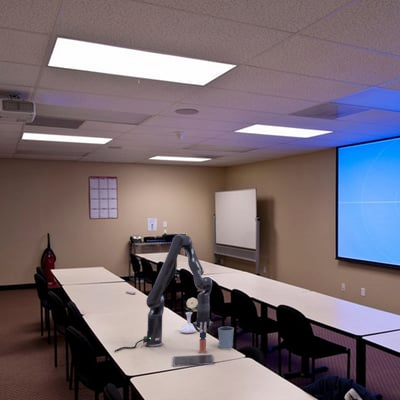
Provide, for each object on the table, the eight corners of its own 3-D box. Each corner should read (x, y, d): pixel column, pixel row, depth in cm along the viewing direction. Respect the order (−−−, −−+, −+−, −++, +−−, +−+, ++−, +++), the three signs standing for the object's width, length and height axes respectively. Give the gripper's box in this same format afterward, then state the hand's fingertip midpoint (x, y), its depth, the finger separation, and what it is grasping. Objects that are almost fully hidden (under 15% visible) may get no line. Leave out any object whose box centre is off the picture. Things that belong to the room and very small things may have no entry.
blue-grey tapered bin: (221, 350, 263) (221, 331, 263) (215, 346, 272) (215, 327, 272) (236, 348, 268) (236, 329, 268) (230, 343, 276) (230, 325, 277)
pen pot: (199, 353, 257) (199, 340, 257) (199, 351, 260) (199, 338, 261) (205, 353, 257) (206, 340, 258) (205, 351, 261) (205, 338, 261)
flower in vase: (177, 333, 299) (177, 297, 300) (186, 329, 310) (186, 295, 310) (193, 335, 294) (193, 299, 295) (201, 331, 305) (202, 296, 305)
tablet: (173, 366, 235) (173, 364, 235) (174, 357, 249) (174, 356, 249) (213, 364, 239) (213, 362, 239) (211, 355, 253) (211, 354, 253)
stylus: (201, 351, 258) (202, 330, 259) (201, 351, 259) (202, 329, 260) (203, 351, 258) (204, 330, 259) (203, 351, 260) (203, 329, 260)
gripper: (214, 308, 265) (213, 336, 264) (192, 308, 262) (191, 337, 262) (214, 311, 257) (214, 339, 257) (192, 311, 255) (191, 340, 254)
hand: (202, 338), depth 259 cm, fingers closed on stylus, 1 cm apart
